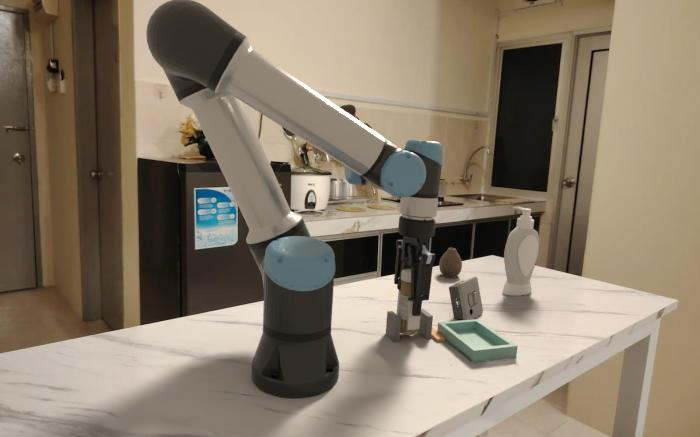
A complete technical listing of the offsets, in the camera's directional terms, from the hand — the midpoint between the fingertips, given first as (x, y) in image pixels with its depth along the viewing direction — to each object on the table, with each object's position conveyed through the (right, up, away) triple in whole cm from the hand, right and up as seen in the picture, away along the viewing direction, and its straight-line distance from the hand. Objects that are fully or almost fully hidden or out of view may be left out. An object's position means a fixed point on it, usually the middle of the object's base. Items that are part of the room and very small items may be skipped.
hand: (407, 323), depth 101 cm
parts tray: (+14, -4, -2) cm, 15 cm away
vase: (+19, +4, +48) cm, 51 cm away
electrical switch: (+16, -1, +14) cm, 21 cm away
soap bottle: (+35, +1, +35) cm, 50 cm away
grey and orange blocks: (+1, -3, +1) cm, 3 cm away
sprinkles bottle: (0, -2, 0) cm, 2 cm away
